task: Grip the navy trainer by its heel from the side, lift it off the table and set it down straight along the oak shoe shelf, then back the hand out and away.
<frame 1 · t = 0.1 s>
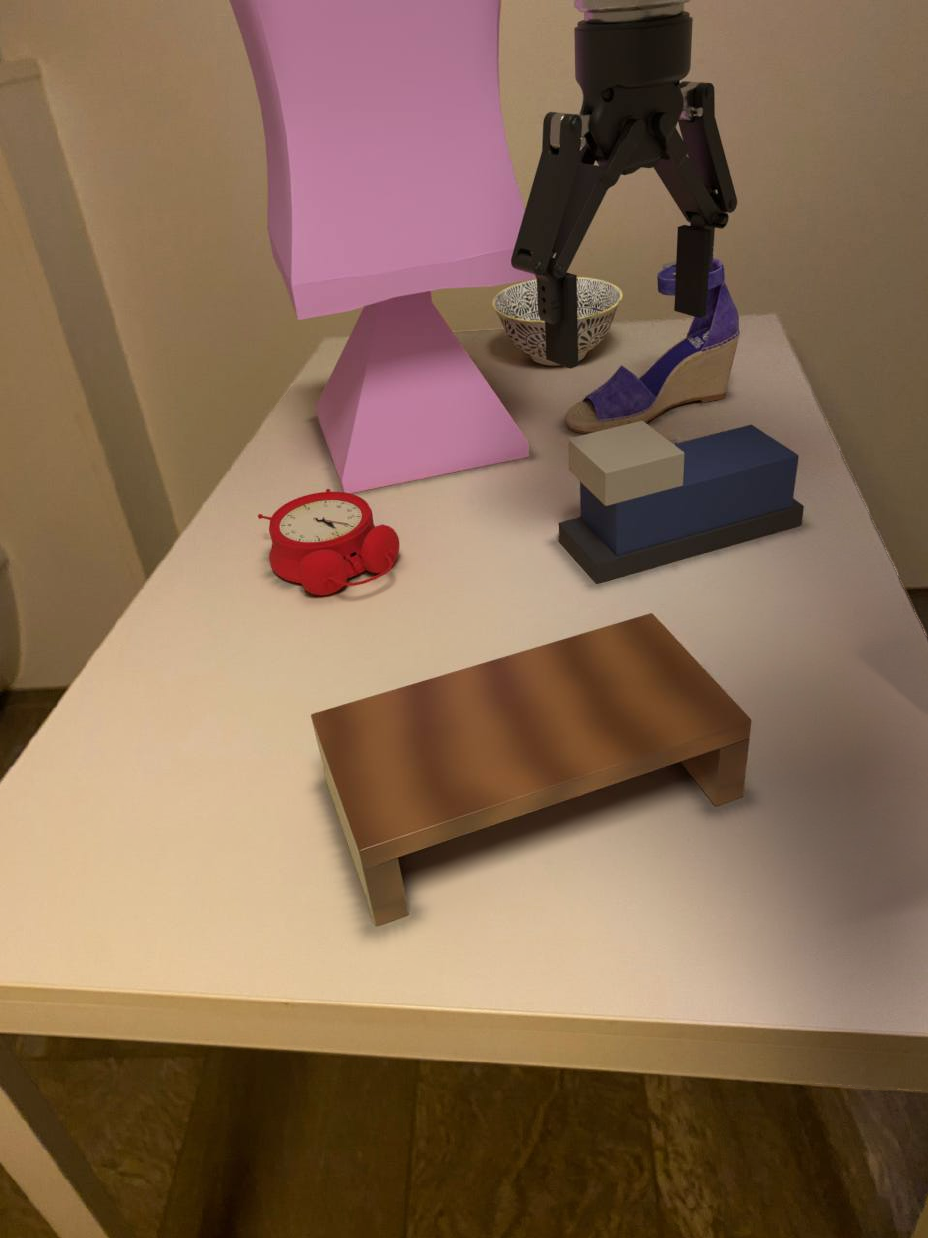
hand: (628, 337, 74), 19 cm above the table, tool pointing down, fingers open, 13 cm apart
alarm clock: (336, 564, 87), on the table
bowl: (558, 357, 122), on the table
shoe shelf: (529, 791, 62), on the table
pink table lamp: (417, 438, 106), on the table
sandal: (651, 411, 107), on the table
trainer: (679, 533, 85), on the table
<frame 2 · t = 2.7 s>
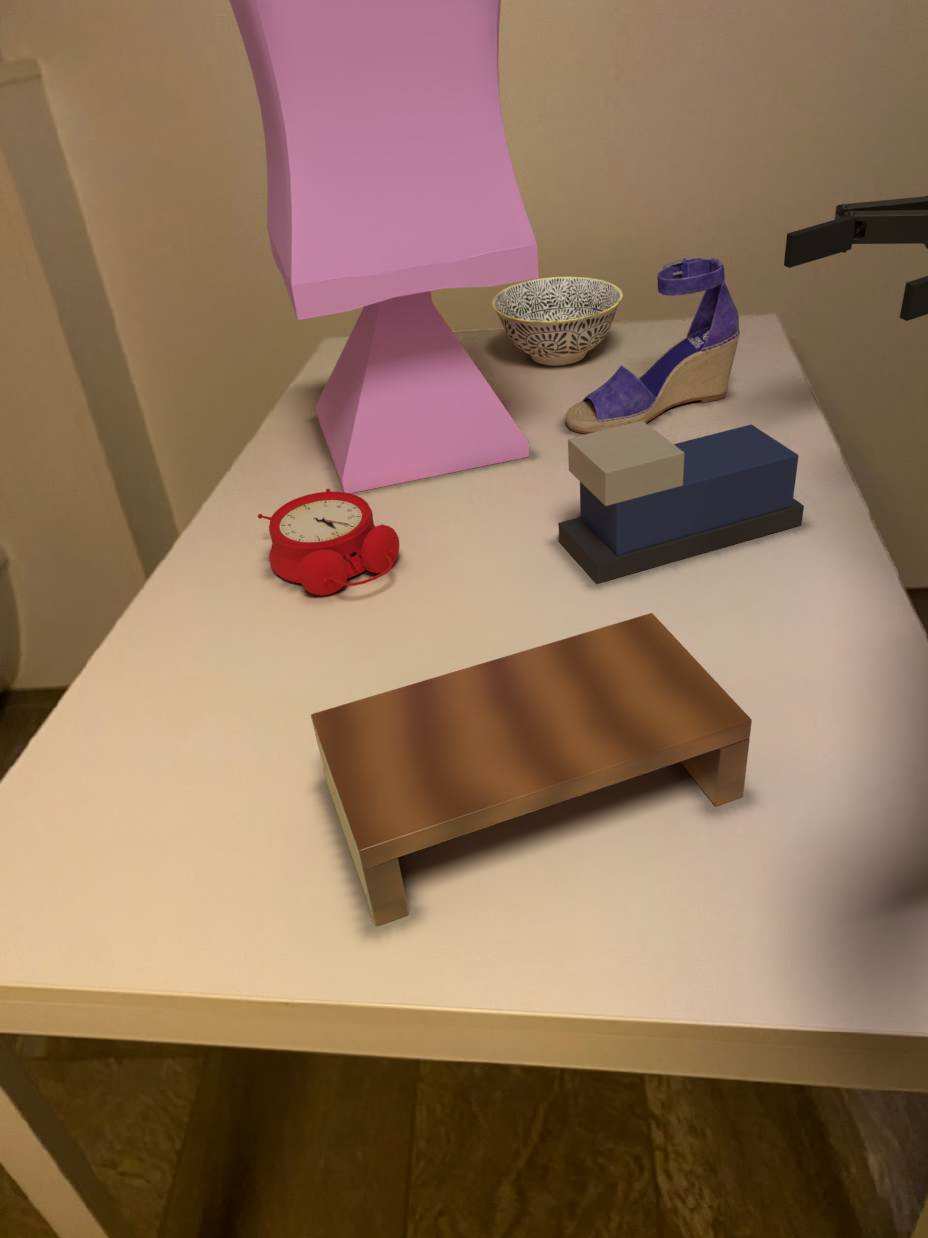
hand: (842, 274, 76), 20 cm above the table, tool horizontal, fingers open, 13 cm apart
nothing on the table moved.
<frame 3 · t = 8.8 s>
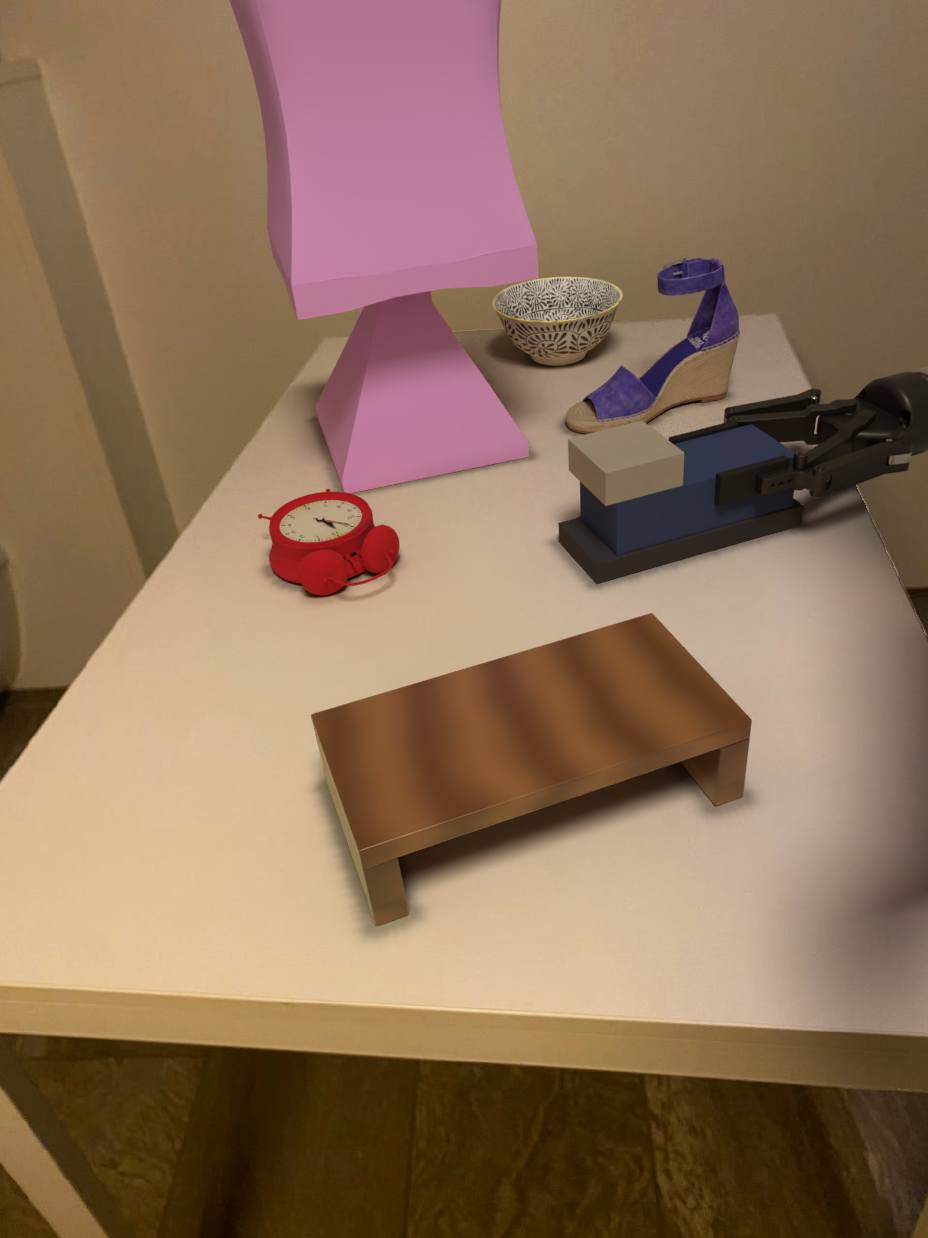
hand: (693, 470, 82), 6 cm above the table, tool horizontal, fingers closed on trainer, 7 cm apart
trainer: (679, 533, 85), on the table, touching gripper
everything else where it was.
when the fingers open (12 cm above the table, at t = 19.0 s): trainer stays where it is, resting on shoe shelf.
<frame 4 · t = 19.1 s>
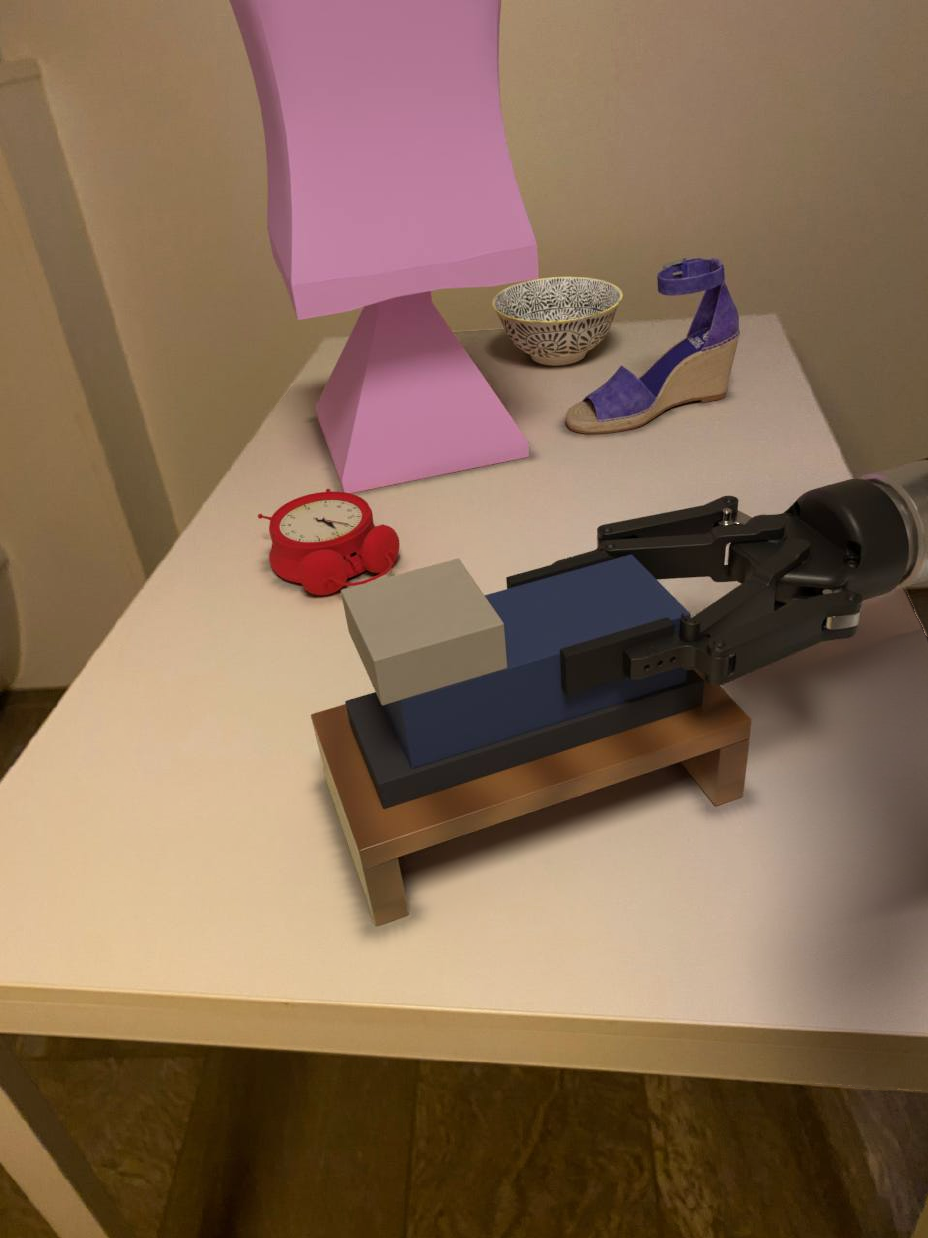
hand: (535, 633, 55), 12 cm above the table, tool horizontal, fingers open, 7 cm apart
trainer: (524, 715, 58), point 6 cm above the table, touching shoe shelf
everything else where it was.
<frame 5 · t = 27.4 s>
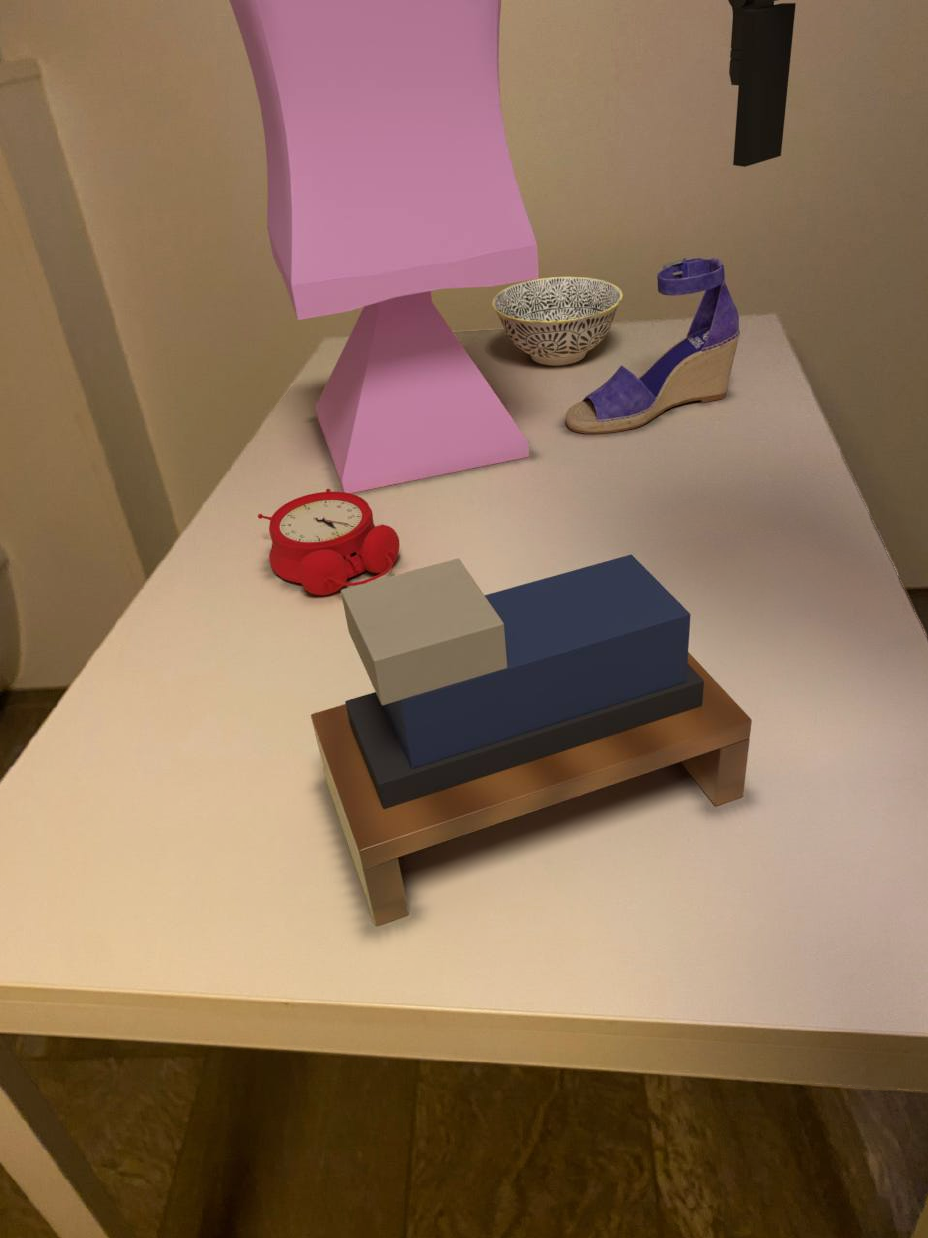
hand: (878, 177, 43), 35 cm above the table, tool pointing down, fingers open, 13 cm apart
nothing on the table moved.
at the end: trainer inside the target area on the shoe shelf (0.1 cm from its centre), point 6.5 cm above the shoe shelf's base; trainer tilted 0°; the gripper is holding nothing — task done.
